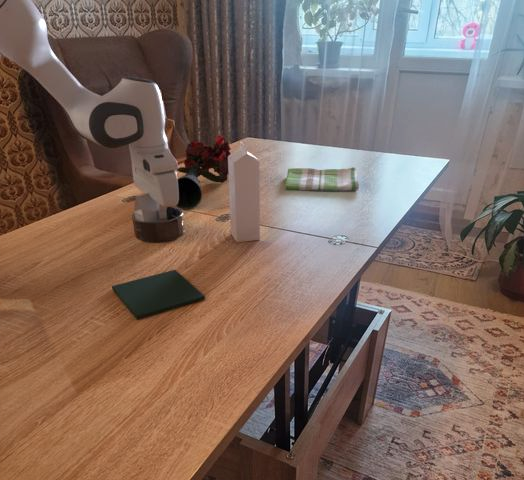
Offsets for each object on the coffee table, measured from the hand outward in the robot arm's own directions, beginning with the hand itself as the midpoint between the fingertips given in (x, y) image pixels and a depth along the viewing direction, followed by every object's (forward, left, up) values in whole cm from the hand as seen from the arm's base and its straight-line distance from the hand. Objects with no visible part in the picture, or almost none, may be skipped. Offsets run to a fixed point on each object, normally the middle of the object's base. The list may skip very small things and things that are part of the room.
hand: (158, 214), depth 120 cm
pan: (0, 0, -5) cm, 5 cm away
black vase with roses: (+24, +25, -5) cm, 35 cm away
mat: (-13, -30, -5) cm, 33 cm away
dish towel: (+61, +11, -5) cm, 62 cm away
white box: (-2, 0, -4) cm, 5 cm away
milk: (+17, -14, -5) cm, 22 cm away
